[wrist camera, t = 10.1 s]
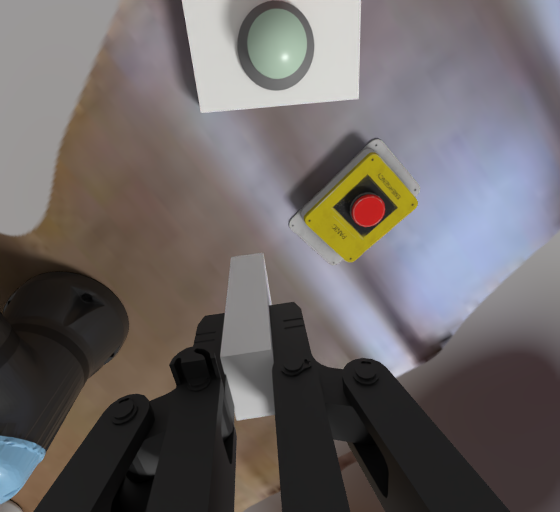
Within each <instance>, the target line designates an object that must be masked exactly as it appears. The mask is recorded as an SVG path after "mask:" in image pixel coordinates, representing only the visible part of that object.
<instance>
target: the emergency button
mask: <svg viewBox="0 0 560 512" xmlns="http://www.w3.org/2000/svg"><path fill="white" fill-rule="evenodd" d="M419 191H420V186H419V184H418V183H417V182H416V181H415V179H414V178H413V177H412V176H411V175H410V173H409V172H408V171H407V170H406V169H405V167H404V166H403V165H402V164H401V163H400V162H399V160H398V159H397V158H396V157H395V156H394V154H393V153H392V152H391V151H390V150H389V148H388V147H387V146H386V145H385V144H384V142H383V141H381V140H379V139H375V140H373V141H371V142H370V143H369V144H368V145H366V146H365V147H364V148H363V149H362V150H361V151H360V152H359V153H358V154H357V155H356V156H355V157H354V158H353V159H352V160H351V161H350V162H349V163H348V164H347V165H346V166H345V167H344V168H343V169H342V170H341V171H340V172H339V173H338V174H337V175H336V176H335V177H334V178H333V179H332V180H331V181H330V182H329V183H328V184H327V185H325V186H324V187H323V188H322V189H321V190H320V191H319V192H318V193H317V194H316V195H315V196H314V197H313V198H312V199H311V200H310V201H309V202H308V203H307V204H306V205H305V206H304V207H303V208H302V209H301V210H300V211H299V212H298V213H297V214H296V215H295V216H294V217H293V218H292V219H291V220H290V222H289V227H290V228H291V230H292V231H293V232H294V233H296V234H297V235H298V236H299V237H300V238H301V239H302V240H303V241H304V242H306V243H307V244H308V245H309V246H310V247H311V248H312V249H313V250H314V251H316V252H317V253H318V254H319V255H320V256H321V257H322V258H323V259H324V260H325V261H327V262H328V263H329V264H331V265H337V264H339V263H340V262H341V261H343V260H345V261H346V262H353V261H355V260H356V259H357V258H359V257H360V256H361V255H362V254H363V253H364V252H366V251H367V250H368V249H369V248H370V247H371V246H373V245H374V244H375V243H376V242H377V241H378V240H380V239H381V238H382V237H383V236H384V235H385V234H387V233H388V232H389V231H390V230H391V229H392V228H393V227H395V226H396V225H397V224H398V223H399V222H400V221H402V220H403V219H404V218H405V217H406V216H407V215H409V214H410V213H411V212H412V211H413V210H414V209H415V208H416V207H417V205H418V201H417V199H416V198H415V197H416V196H417V195H418V193H419Z"/></svg>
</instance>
